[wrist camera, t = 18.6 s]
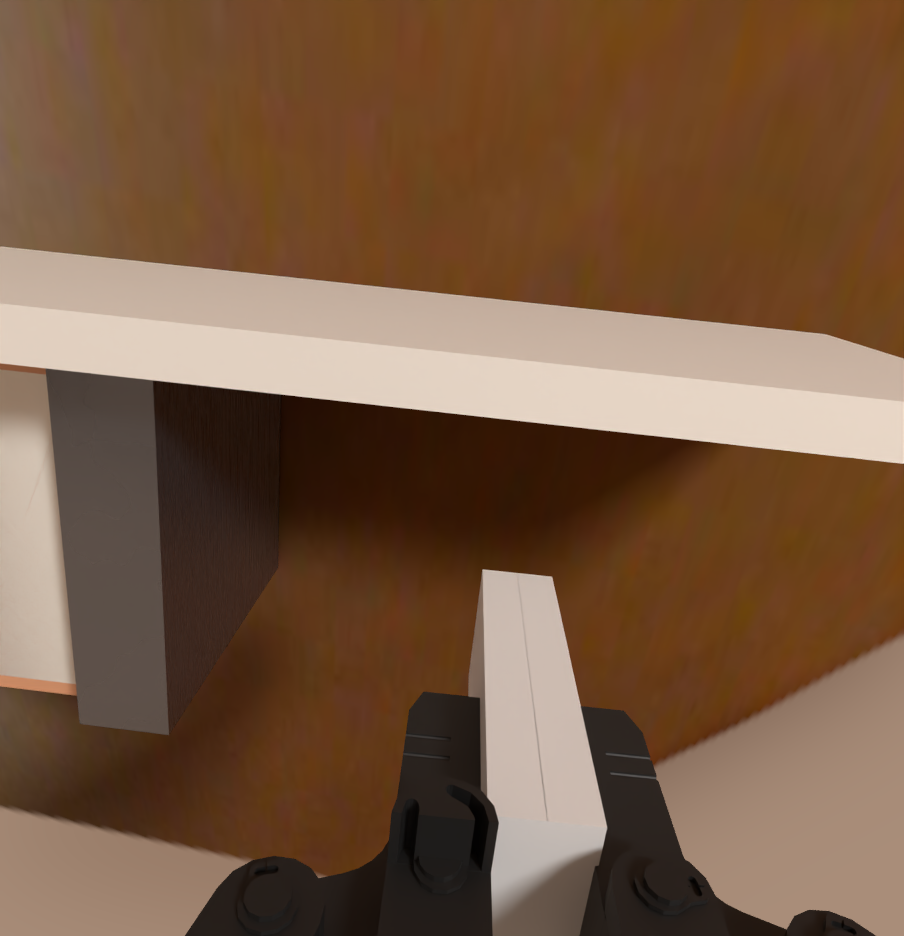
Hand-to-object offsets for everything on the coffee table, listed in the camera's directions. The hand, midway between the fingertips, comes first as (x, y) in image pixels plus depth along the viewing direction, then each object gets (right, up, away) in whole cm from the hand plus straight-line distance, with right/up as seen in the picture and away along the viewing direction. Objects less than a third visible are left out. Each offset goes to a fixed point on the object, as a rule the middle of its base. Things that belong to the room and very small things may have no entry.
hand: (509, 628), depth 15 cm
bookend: (-9, +4, +12) cm, 16 cm away
